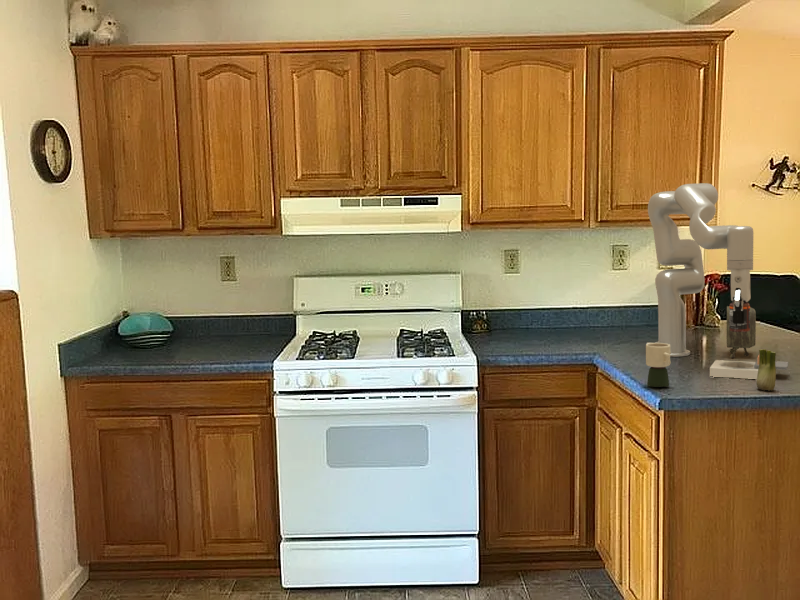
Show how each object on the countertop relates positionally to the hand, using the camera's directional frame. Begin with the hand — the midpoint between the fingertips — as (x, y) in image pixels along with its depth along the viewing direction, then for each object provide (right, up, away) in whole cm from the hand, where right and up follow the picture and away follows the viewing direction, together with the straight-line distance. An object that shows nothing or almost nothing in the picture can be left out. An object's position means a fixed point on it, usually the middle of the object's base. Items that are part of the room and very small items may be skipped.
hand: (739, 321), depth 237 cm
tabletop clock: (+15, -14, +32) cm, 37 cm away
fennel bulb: (-1, -20, -20) cm, 28 cm away
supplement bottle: (0, -3, 0) cm, 3 cm away
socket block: (+1, -17, +2) cm, 17 cm away
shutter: (+9, -14, -3) cm, 17 cm away
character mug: (-29, -20, -11) cm, 37 cm away
